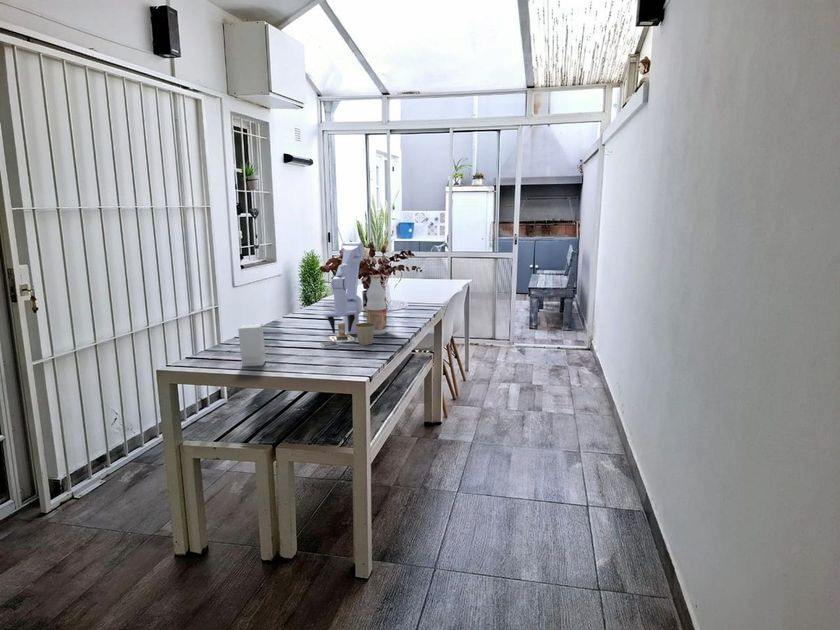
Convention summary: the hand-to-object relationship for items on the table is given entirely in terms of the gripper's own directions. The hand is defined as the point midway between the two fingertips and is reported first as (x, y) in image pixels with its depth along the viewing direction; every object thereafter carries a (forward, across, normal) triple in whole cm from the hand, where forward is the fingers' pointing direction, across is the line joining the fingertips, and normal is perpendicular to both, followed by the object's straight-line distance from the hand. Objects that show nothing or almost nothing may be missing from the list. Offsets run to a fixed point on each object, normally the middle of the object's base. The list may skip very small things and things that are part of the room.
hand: (341, 331), depth 261 cm
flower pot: (+4, +8, -12) cm, 15 cm away
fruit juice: (+4, +19, +6) cm, 20 cm away
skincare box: (+4, -42, -26) cm, 49 cm away
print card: (+4, 0, 0) cm, 4 cm away
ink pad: (+4, -8, -10) cm, 13 cm away
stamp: (+3, 0, 0) cm, 3 cm away
